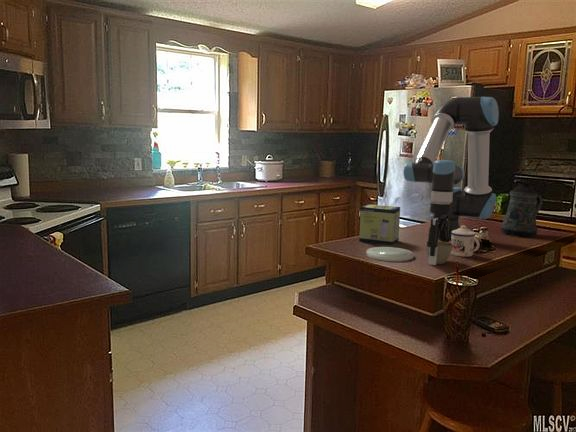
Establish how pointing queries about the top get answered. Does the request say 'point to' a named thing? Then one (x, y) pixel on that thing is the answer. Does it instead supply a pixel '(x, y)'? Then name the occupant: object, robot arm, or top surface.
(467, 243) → the teacup with lid
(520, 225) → the beer stein
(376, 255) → the dish
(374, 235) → the protein box
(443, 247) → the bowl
